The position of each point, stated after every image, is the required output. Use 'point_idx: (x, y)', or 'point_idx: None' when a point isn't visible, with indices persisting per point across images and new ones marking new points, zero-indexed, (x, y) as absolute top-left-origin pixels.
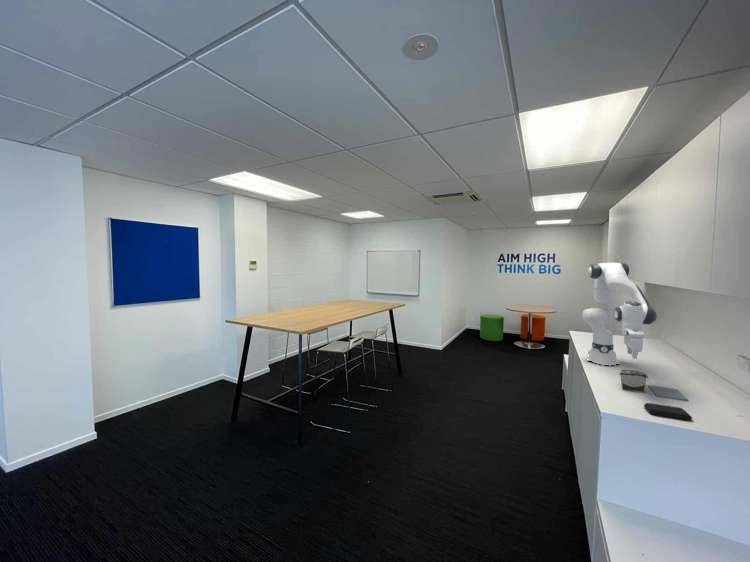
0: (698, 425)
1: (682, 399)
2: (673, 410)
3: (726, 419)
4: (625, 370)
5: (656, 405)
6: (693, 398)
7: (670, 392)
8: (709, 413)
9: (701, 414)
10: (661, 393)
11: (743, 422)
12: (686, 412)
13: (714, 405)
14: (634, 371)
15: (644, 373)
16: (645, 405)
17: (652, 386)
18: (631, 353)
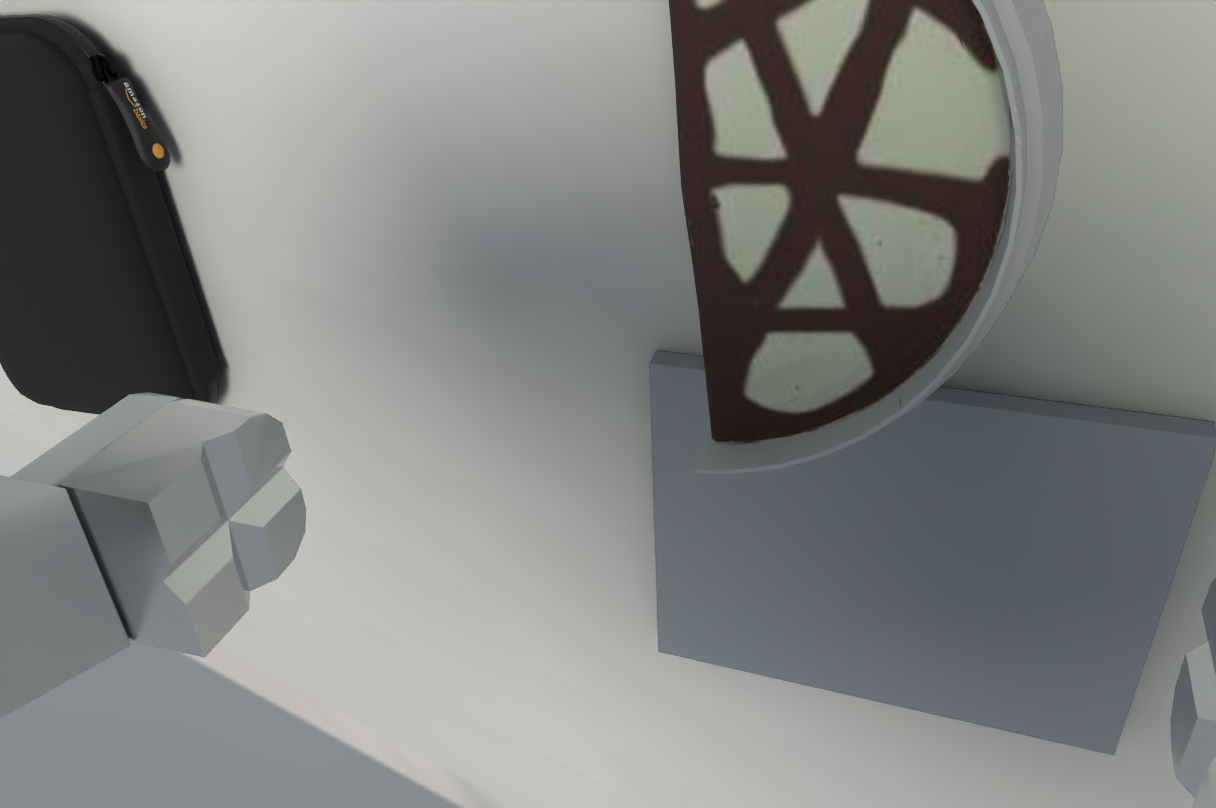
0: (17, 390)
1: (660, 599)
2: (10, 297)
3: (326, 669)
4: (995, 39)
5: (21, 164)
6: (815, 738)
7: (881, 597)
8: (390, 626)
9: (313, 548)
10: None
11: (343, 741)
12: (71, 404)
13: (665, 791)
14: (983, 294)
15: (790, 458)
16: (14, 32)
17: (1133, 481)
18: (1177, 721)
